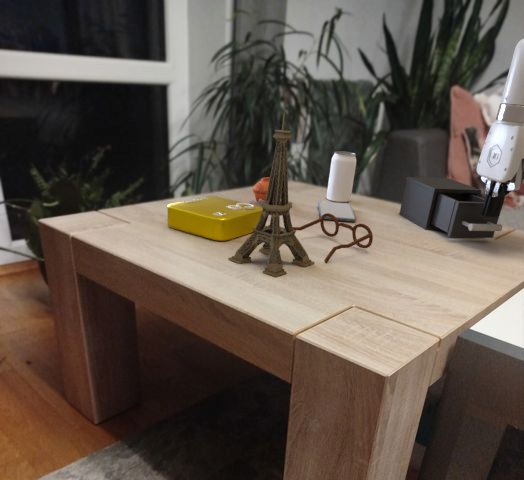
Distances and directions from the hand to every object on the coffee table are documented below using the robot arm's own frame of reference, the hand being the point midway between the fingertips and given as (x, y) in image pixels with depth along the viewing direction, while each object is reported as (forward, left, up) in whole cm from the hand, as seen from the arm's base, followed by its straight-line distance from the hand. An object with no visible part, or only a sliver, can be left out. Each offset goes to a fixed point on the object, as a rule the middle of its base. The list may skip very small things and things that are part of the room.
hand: (489, 215), depth 101 cm
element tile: (+54, -12, -7) cm, 56 cm away
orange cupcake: (+38, -35, -7) cm, 52 cm away
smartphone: (+23, -26, -7) cm, 35 cm away
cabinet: (0, -20, -7) cm, 21 cm away
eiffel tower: (+47, +9, -7) cm, 48 cm away
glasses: (+35, +1, -7) cm, 36 cm away
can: (+17, -41, -7) cm, 45 cm away
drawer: (0, -8, -6) cm, 10 cm away
